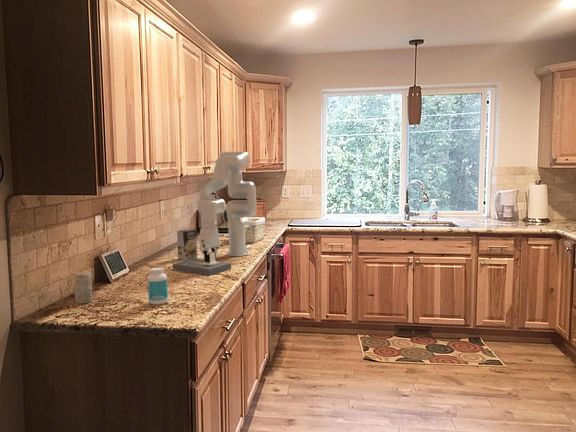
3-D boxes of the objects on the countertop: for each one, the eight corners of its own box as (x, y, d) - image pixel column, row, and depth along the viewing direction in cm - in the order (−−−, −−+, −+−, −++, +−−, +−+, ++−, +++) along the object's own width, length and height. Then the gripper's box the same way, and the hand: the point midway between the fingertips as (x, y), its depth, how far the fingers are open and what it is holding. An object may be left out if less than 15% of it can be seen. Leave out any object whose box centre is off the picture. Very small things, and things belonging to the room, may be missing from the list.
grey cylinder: (74, 305, 189) (71, 275, 188) (77, 300, 196) (75, 271, 195) (91, 304, 191) (89, 274, 189) (94, 298, 198) (92, 269, 197)
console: (195, 263, 261) (195, 257, 261) (231, 268, 247) (231, 262, 247) (173, 269, 248) (172, 263, 247) (209, 275, 234) (209, 269, 234)
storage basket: (244, 237, 346) (244, 216, 344) (266, 237, 342) (266, 216, 340) (233, 243, 323) (232, 221, 321) (256, 243, 319) (256, 221, 317)
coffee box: (185, 260, 270) (183, 231, 268) (177, 259, 274) (176, 230, 272) (197, 257, 277) (196, 229, 275) (190, 256, 281) (189, 228, 279)
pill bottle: (172, 302, 192) (170, 268, 190) (155, 306, 186) (154, 272, 185) (161, 298, 197) (159, 265, 195) (144, 302, 191) (143, 269, 190)
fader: (211, 262, 248) (210, 251, 247) (218, 263, 245) (218, 252, 244) (202, 264, 243) (202, 253, 242) (210, 265, 240) (209, 254, 239)
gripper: (215, 222, 250) (216, 257, 253) (191, 226, 237) (193, 263, 239) (226, 223, 246) (227, 259, 249) (203, 227, 233) (204, 265, 235)
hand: (210, 261), depth 244 cm, fingers closed on fader, 4 cm apart
